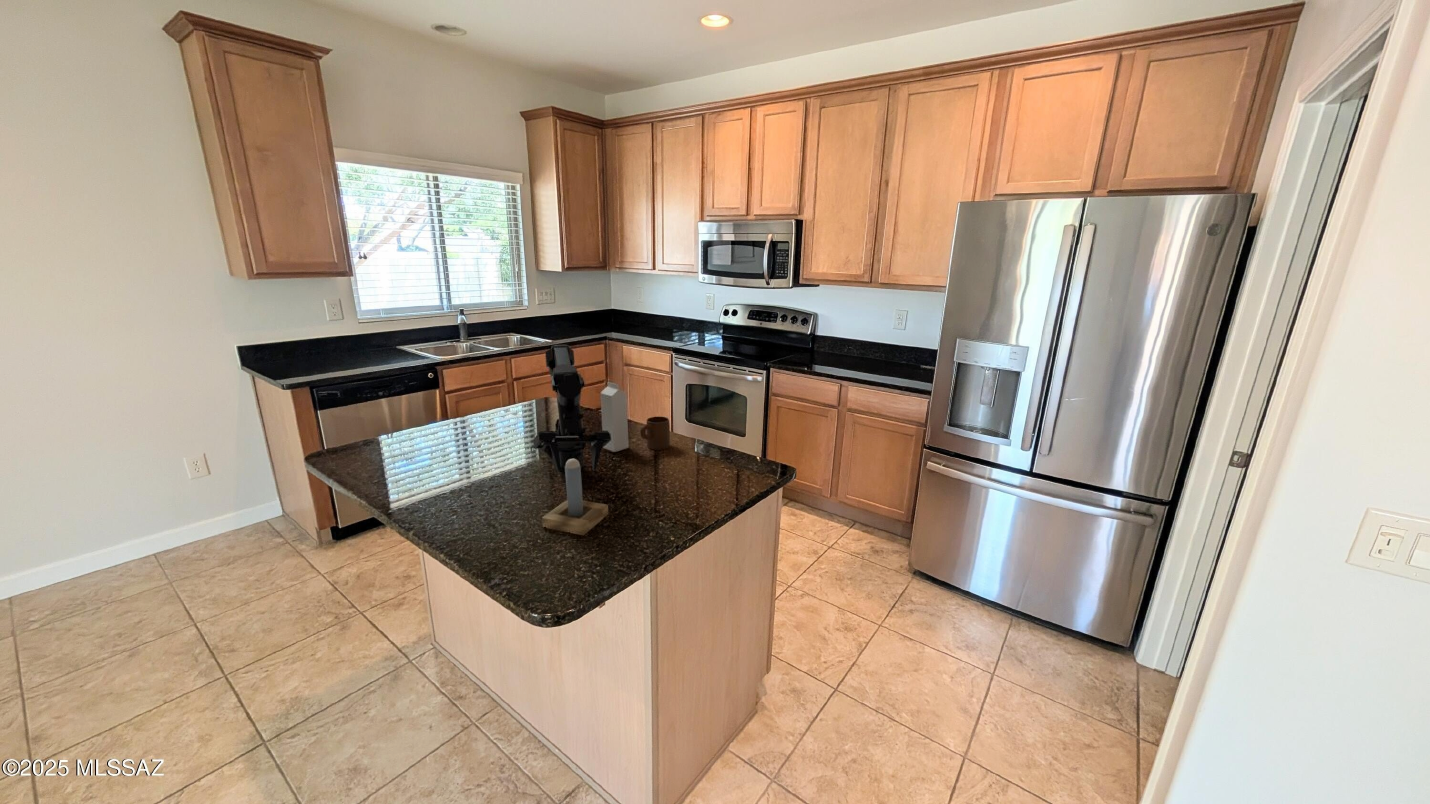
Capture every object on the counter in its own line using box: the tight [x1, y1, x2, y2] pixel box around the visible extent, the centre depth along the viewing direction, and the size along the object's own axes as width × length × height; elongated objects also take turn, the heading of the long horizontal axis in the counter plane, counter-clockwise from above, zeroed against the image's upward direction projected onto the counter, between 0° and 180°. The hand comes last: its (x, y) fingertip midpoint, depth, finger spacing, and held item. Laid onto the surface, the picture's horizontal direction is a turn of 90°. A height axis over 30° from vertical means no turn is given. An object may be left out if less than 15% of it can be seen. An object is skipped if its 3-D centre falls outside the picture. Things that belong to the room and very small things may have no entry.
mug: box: [639, 416, 671, 451], centre depth 174 cm, size 12×8×9 cm, turn 145°
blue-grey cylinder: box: [564, 459, 584, 519], centre depth 125 cm, size 4×4×16 cm
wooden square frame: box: [541, 499, 609, 536], centre depth 127 cm, size 11×11×2 cm
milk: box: [599, 381, 630, 453], centre depth 172 cm, size 6×6×22 cm
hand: (577, 471), depth 134 cm, fingers open, 9 cm apart
